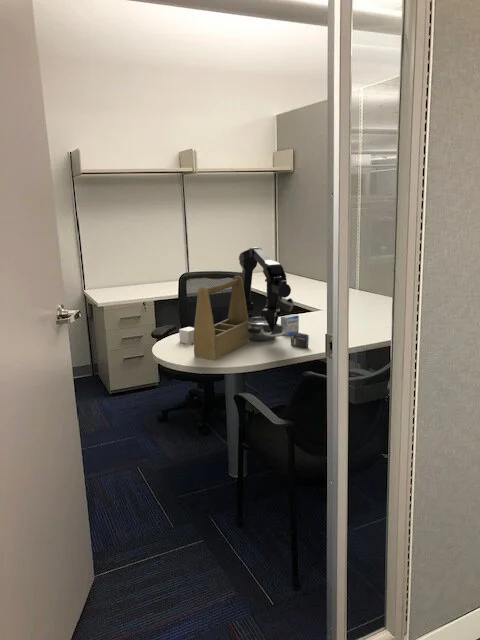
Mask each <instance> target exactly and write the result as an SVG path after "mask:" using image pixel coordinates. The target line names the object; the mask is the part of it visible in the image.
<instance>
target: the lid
mask: <svg viewBox="0 0 480 640" xmlns="http://www.w3.org/2000/svg"><path fill="white" fill-rule="evenodd" d="M261 334H262V335H263V336H267V337H276V338H278V337H283V336H286V335H285V330H283V325H282V324H281V323H277V324H274V330H271V329H270V327H269V325H268V323H265V324H264V325H263V330H262V331H261Z"/></svg>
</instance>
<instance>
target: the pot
mask: <svg viewBox="0 0 480 640" xmlns="http://www.w3.org/2000/svg"><path fill="white" fill-rule="evenodd" d="M248 321H249V341H250V342H255V343H257V342H258V343H266V342H271V341H274V340H275V339H276V338H277V337H267V336H263V335H262V334H261V331H262V330H263V325H264V324H265V323H267V321H266V319H265V317H260V316H252V317H249V318H248Z"/></svg>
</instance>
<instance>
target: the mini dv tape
mask: <svg viewBox="0 0 480 640" xmlns="http://www.w3.org/2000/svg"><path fill="white" fill-rule="evenodd" d="M309 336H310V335H309V334H307V333H301V332H298V333H297V332H291V335H290V346H293V347H295V348H296V347H297V348H301V349H305V350H306V349H309V339H310V337H309Z"/></svg>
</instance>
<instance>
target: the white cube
mask: <svg viewBox="0 0 480 640" xmlns="http://www.w3.org/2000/svg"><path fill="white" fill-rule="evenodd" d="M178 331H179V343H183V344H186V345H191V344H194V326H187V327H183V328H179V330H178Z"/></svg>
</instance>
